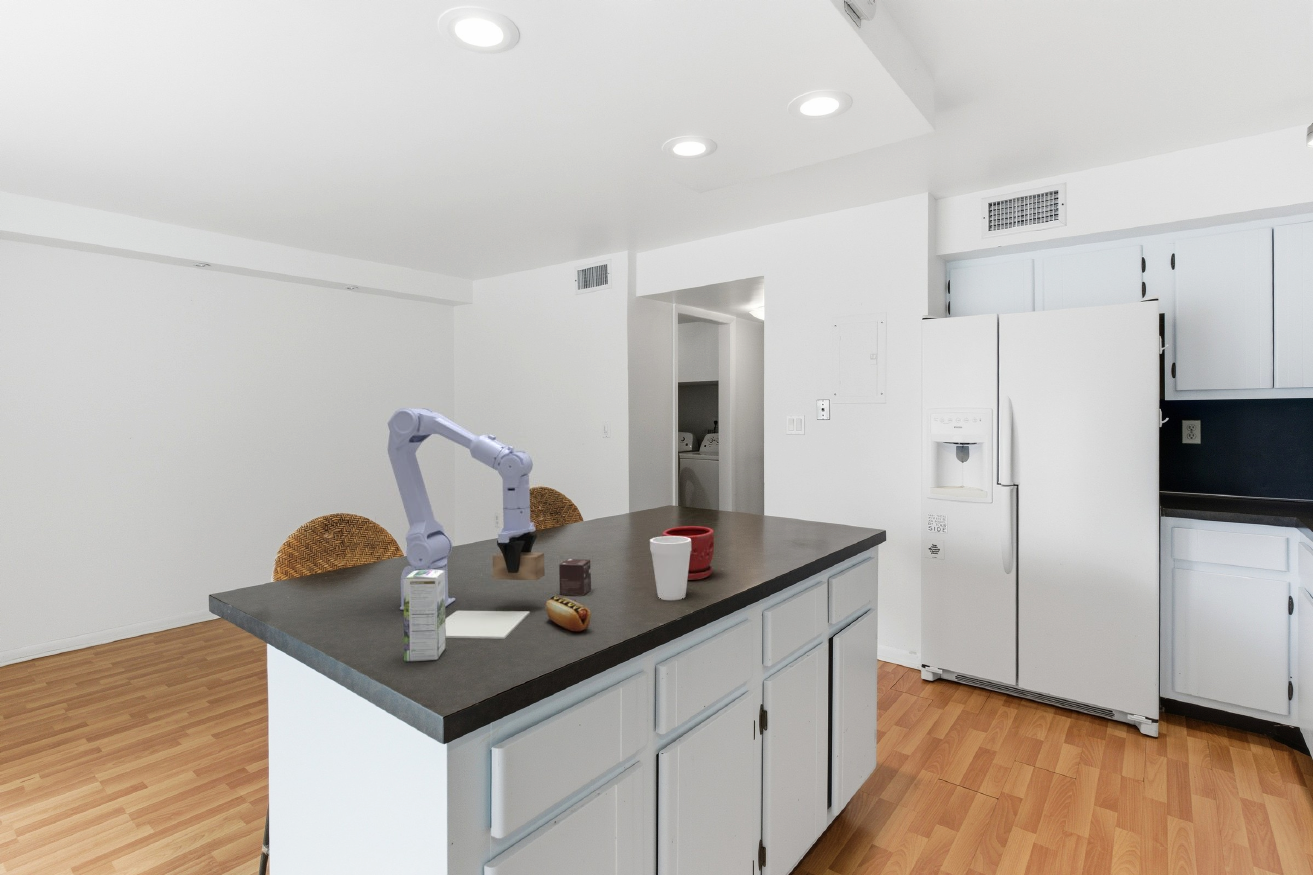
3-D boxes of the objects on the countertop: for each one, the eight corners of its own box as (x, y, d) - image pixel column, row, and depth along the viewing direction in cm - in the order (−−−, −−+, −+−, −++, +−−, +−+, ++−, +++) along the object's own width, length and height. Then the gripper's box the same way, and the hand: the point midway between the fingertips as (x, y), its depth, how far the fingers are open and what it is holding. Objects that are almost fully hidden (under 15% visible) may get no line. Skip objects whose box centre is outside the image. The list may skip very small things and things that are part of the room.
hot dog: (571, 638, 122) (571, 611, 122) (540, 621, 133) (540, 596, 133) (595, 632, 125) (594, 606, 125) (562, 616, 136) (562, 592, 135)
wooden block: (493, 578, 140) (492, 555, 140) (502, 574, 145) (501, 551, 145) (536, 580, 138) (536, 557, 138) (544, 575, 143) (544, 552, 143)
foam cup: (669, 604, 142) (668, 545, 142) (642, 596, 149) (641, 540, 149) (700, 596, 148) (699, 539, 148) (673, 588, 155) (672, 534, 155)
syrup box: (413, 650, 117) (411, 569, 116) (447, 648, 117) (445, 568, 117) (403, 662, 111) (401, 577, 111) (439, 660, 111) (437, 576, 111)
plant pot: (666, 570, 175) (665, 525, 174) (715, 570, 173) (715, 525, 172) (660, 582, 162) (659, 534, 161) (713, 583, 160) (712, 534, 160)
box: (583, 596, 150) (583, 564, 150) (559, 595, 152) (558, 564, 151) (591, 589, 156) (591, 559, 156) (567, 588, 158) (567, 558, 157)
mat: (422, 637, 123) (422, 635, 123) (456, 612, 139) (456, 610, 139) (504, 638, 122) (504, 636, 122) (529, 613, 138) (529, 611, 138)
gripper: (519, 512, 133) (521, 578, 134) (546, 503, 147) (547, 562, 148) (488, 512, 135) (489, 577, 135) (517, 503, 149) (518, 562, 149)
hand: (518, 569), depth 142 cm, fingers closed on wooden block, 4 cm apart
